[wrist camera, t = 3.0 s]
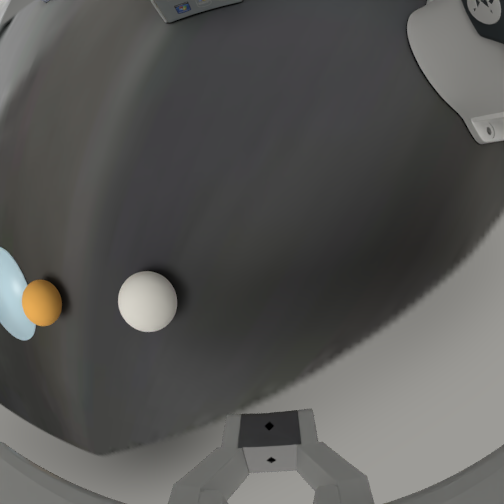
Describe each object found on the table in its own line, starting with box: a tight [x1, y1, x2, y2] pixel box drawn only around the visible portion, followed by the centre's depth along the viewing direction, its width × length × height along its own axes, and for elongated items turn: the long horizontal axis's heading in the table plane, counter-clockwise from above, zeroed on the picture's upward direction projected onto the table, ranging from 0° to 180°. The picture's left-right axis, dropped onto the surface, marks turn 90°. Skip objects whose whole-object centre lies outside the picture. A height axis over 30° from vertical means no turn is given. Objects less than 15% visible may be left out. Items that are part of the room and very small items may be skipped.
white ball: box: [118, 271, 177, 332], centre depth 21 cm, size 5×5×5 cm
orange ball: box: [22, 280, 62, 326], centre depth 22 cm, size 5×5×5 cm
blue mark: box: [0, 247, 36, 340], centre depth 25 cm, size 14×14×1 cm
